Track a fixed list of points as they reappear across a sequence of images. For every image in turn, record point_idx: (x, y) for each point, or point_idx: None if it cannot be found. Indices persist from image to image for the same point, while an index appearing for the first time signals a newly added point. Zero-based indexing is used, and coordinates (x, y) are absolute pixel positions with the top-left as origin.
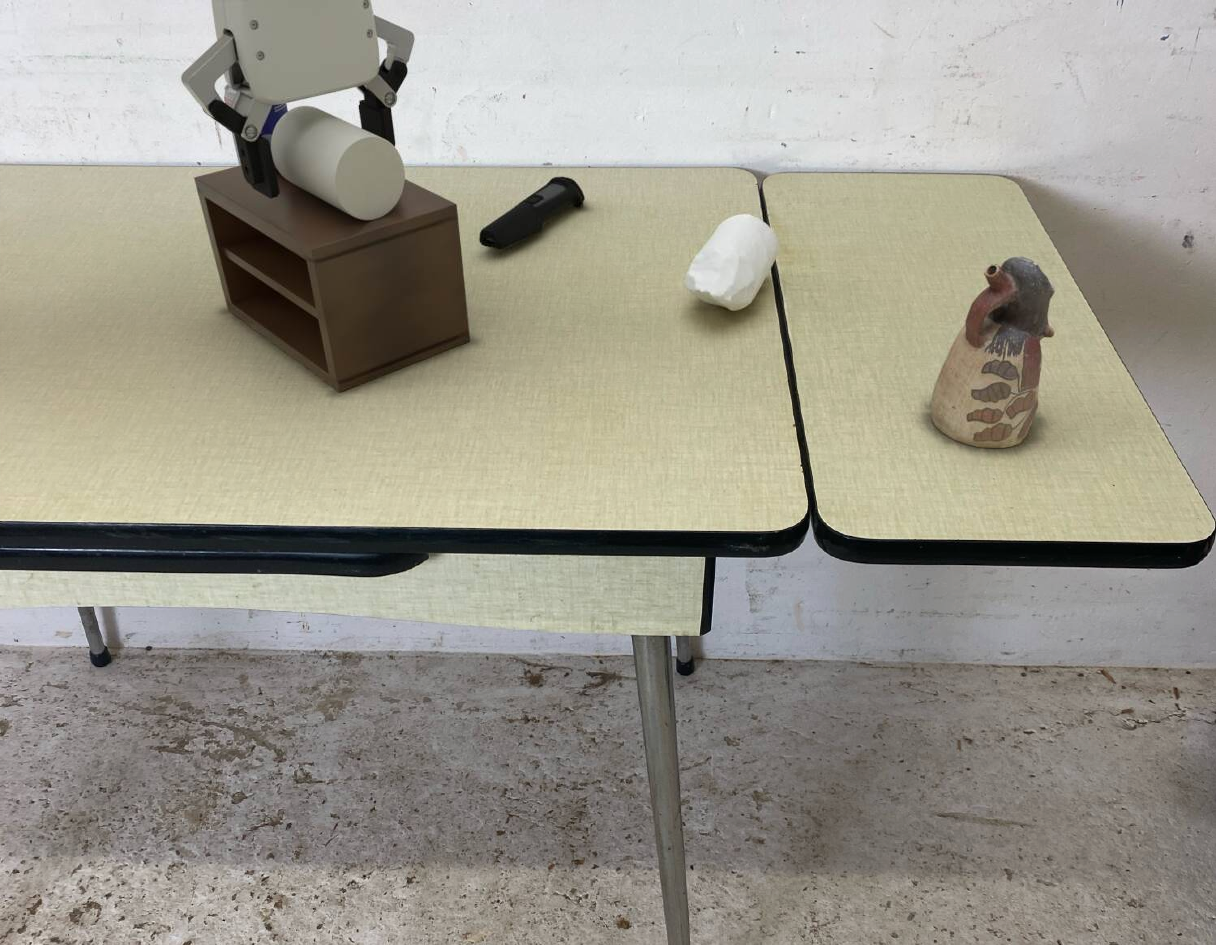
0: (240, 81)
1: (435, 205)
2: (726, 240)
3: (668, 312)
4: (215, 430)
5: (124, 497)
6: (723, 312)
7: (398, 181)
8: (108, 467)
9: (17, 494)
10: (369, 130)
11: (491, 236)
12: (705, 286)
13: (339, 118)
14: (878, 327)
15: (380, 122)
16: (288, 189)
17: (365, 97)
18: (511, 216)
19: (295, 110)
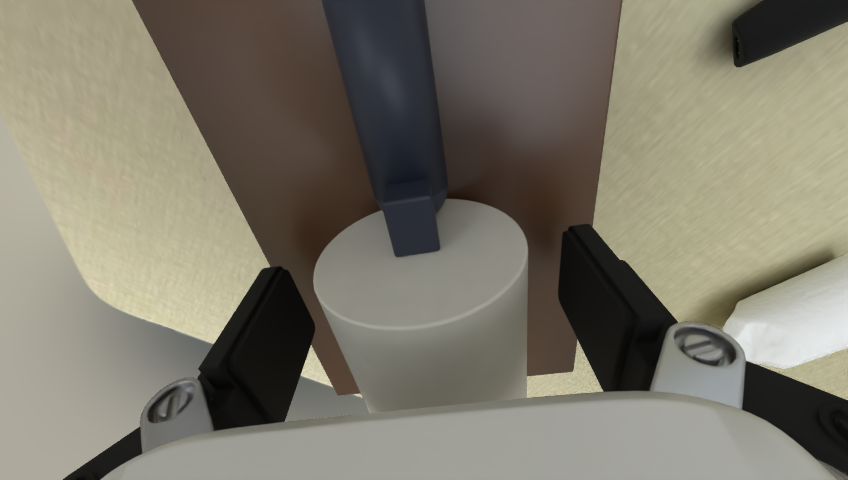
0: (144, 470)
1: (545, 365)
2: (812, 353)
3: (703, 287)
4: (249, 267)
5: (179, 311)
6: (734, 308)
7: None
8: (158, 275)
9: (86, 275)
10: (587, 303)
11: (741, 61)
12: None
13: (491, 400)
14: (777, 371)
15: (596, 373)
16: (362, 197)
17: (643, 366)
18: (837, 17)
19: (394, 347)
